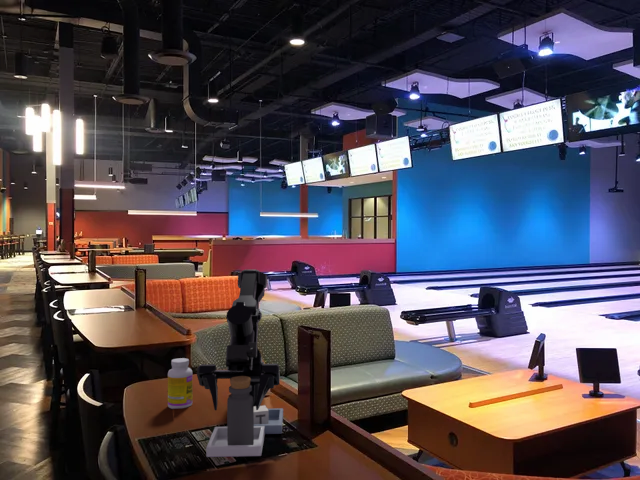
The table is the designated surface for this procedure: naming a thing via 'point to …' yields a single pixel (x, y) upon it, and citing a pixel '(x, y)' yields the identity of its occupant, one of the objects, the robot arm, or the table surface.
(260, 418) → the white cube
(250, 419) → the bottle
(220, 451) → the grey tray
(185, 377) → the supplement bottle
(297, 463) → the table surface
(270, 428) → the blue tray
